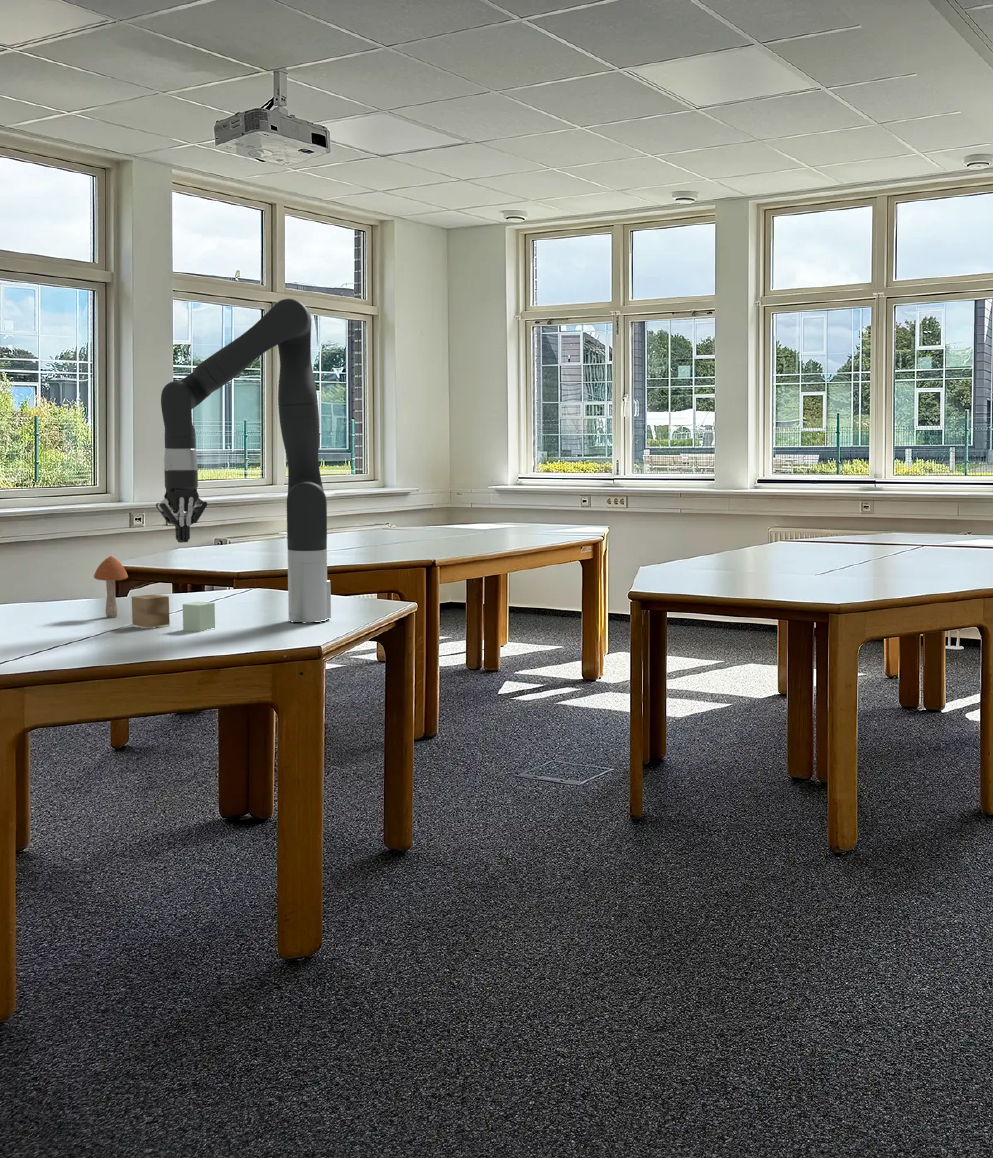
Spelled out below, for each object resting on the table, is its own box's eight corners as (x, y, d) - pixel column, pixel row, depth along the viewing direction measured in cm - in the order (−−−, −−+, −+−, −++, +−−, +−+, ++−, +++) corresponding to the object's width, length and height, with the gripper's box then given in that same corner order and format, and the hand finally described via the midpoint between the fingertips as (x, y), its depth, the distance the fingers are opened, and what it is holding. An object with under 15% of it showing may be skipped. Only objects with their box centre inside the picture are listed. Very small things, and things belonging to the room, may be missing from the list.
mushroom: (118, 620, 282) (116, 557, 281) (88, 619, 284) (86, 557, 282) (135, 615, 290) (133, 554, 288) (105, 614, 292) (103, 554, 290)
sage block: (198, 627, 272) (197, 601, 272) (215, 629, 270) (214, 603, 269) (183, 630, 268) (182, 604, 267) (200, 632, 266) (199, 605, 265)
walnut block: (155, 623, 278) (154, 594, 277) (169, 626, 274) (168, 596, 273) (132, 626, 273) (131, 596, 272) (146, 629, 269) (145, 598, 268)
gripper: (196, 467, 283) (198, 539, 285) (147, 468, 274) (149, 543, 276) (214, 468, 278) (216, 541, 280) (164, 468, 269) (166, 544, 271)
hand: (182, 542), depth 278 cm, fingers closed
